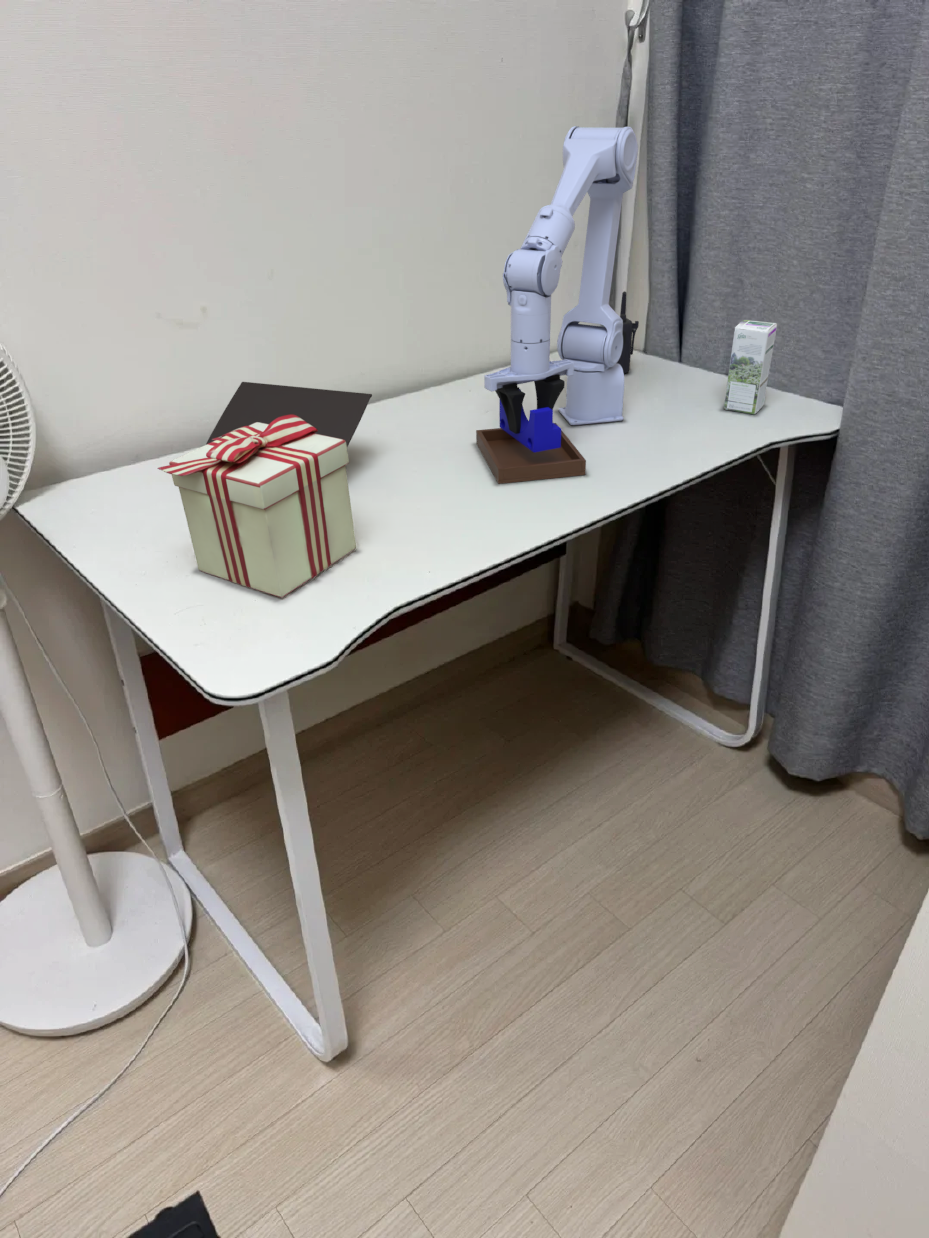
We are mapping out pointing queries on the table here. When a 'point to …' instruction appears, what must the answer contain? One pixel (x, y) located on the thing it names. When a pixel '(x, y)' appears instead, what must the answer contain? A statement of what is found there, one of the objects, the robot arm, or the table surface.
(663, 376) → the table surface
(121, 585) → the table surface
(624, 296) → the two-way radio
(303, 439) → the gift box
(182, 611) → the table surface
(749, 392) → the syrup box
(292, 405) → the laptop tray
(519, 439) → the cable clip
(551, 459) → the tray
